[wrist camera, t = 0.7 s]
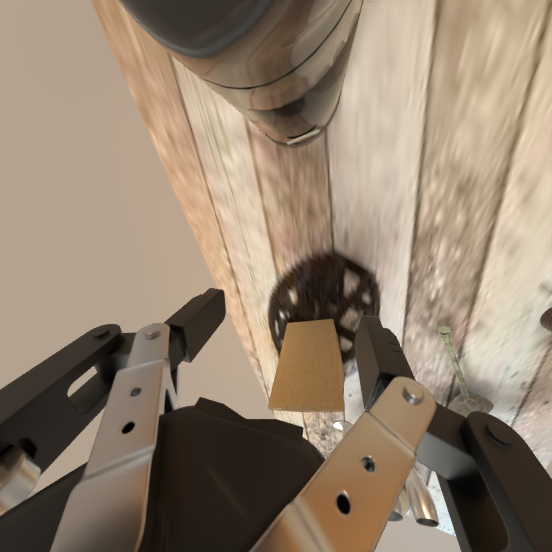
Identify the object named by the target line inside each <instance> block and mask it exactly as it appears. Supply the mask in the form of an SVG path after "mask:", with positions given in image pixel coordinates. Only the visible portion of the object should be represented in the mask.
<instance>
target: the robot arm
mask: <svg viewBox="0 0 552 552" xmlns="http://www.w3.org/2000/svg"><path fill="white" fill-rule="evenodd" d="M118 1H119V2H120V3H121V5H122V6H123V7H124V8H125V10H126V11H127V12H128V13H129V14H130V15H131V16H132V18H133V19H134V20H135V21H136V22H137V23H138V24H139V25H140V26H141V27H142V29H143V30H145V31H146V32H147V33H148V34H149V35H150V36H151V37H152V38H153V39H154V40H155V41H156V42H157V43H158V44H159V45H161V46H162V47H163V48H164V49H165V50H166V51H168V52H169V53H170V54H171V55H172V56H174V57H175V58H176V59H177V60H178V61H180V62H181V63H182V64H183V65H184V66H185V67H186V68H188V69H189V70H190V71H191V72H192V73H194V74H195V75H196V76H197V77H198V78H199V79H201V80H202V81H203V82H204V83H205V84H207V85H208V86H209V87H210V88H211V89H213V90H214V91H215V92H216V93H218V94H219V95H220V96H221V97H222V98H224V99H225V100H226V101H227V102H228V103H230V104H231V105H232V106H233V107H234V108H236V109H237V110H238V111H239V112H240V113H241V114H243V115H244V116H245V117H246V118H247V119H249V120H250V121H251V122H252V123H253V124H255V125H256V126H257V127H258V128H259V129H261V130H262V131H263V132H264V133H265V134H266V136H267V137H269V138H270V139H271V140H272V141H274V142H275V143H277V144H279V145H281V146H284V147H291V148H294V147H301V146H304V145H307V144H309V143H311V142H312V141H314V140H315V139H317V138H318V137H319V136H320V135H321V134H322V133H323V132H324V131H325V130H326V128H327V127H328V125H329V124H330V122H331V121H332V119H333V117H334V115H335V112H336V109H337V106H338V103H339V98H340V93H341V88H342V84H343V80H344V76H345V72H346V68H347V64H348V60H349V56H350V52H351V48H352V44H353V40H354V36H355V32H356V28H357V24H358V20H359V16H360V12H361V8H362V4H363V0H118ZM225 313H226V309H225V296H224V291H223V290H220V289H214V288H210V289H208V290H207V291H206V292H205V293H204V294H203V295H202V294H201V295H199V296H197V297H194V298H193V299H191V300H190V301H189V302H188V303H187V304H186V305H184V306H183V307H182V309H180V310H178V311H177V312H176V313H175V314H174V315H172V316H171V317H170V318H169V319H168V320H167V321H165V322H164V323H154V324H151V325H148V326H146V327H144V328H142V329H141V330H139V331H138V332H137V333H122V331H121V328H120V326H118V325H116V324H107V325H102V326H99V327H97V328H94V329H92V330H90V331H89V332H87V333H86V334H84V335H83V336H81V337H79V338H78V339H77V340H75V341H73V342H72V343H70V344H69V345H68V346H66V347H64V348H63V349H61V350H60V351H58V352H57V353H55V354H54V355H52V356H51V357H49V358H48V359H46V360H45V361H43V362H42V363H40V364H39V365H37V366H35V367H34V368H32V369H31V370H29V371H28V372H26V373H25V374H23V375H22V376H20V377H19V378H17V379H16V380H14V381H13V382H11V383H10V384H8V385H7V386H5V387H4V388H2V389H1V390H0V552H374V551H375V549H376V546H377V544H378V542H379V539H380V538H381V535H382V533H383V531H384V529H385V527H386V524H387V522H388V520H389V518H390V516H391V513H392V511H393V509H394V507H395V505H396V502H397V500H398V498H399V496H400V494H401V491H402V489H403V487H404V485H405V483H406V480H407V478H408V476H409V474H410V472H411V469H412V467H413V465H414V463H415V460H416V461H418V462H420V463H421V464H423V465H425V466H426V467H428V468H429V469H431V470H433V471H434V472H436V475H437V478H438V481H439V484H440V487H441V490H442V493H443V496H444V499H445V502H446V505H447V509H448V512H449V515H450V518H451V521H452V524H453V527H454V530H455V533H456V536H457V540H458V542H459V546H460V549H461V552H552V479H551V478H550V476H549V475H548V473H547V472H546V470H545V469H544V468H543V466H542V465H541V463H540V462H539V460H538V459H537V458H536V456H535V455H534V453H533V452H532V451H531V449H530V448H529V446H528V445H527V444H526V442H525V441H524V440H523V439H522V437H521V436H520V435H519V434H518V433H517V432H516V431H514V430H513V429H512V428H511V427H510V426H508V425H507V424H506V423H504V422H503V421H501V420H500V419H498V418H496V417H494V416H492V415H490V414H487V413H485V412H480V411H472V412H470V413H469V414H468V416H467V417H465V416H463V415H461V414H459V413H456V412H454V411H452V410H450V409H448V408H446V407H444V406H442V405H440V404H438V403H437V402H436V401H435V399H434V397H433V395H432V394H431V393H430V392H429V390H428V389H427V388H425V387H424V386H423V385H422V384H420V383H419V382H417V381H416V380H415V378H414V375H413V373H412V371H411V369H410V366H409V364H408V362H407V360H406V357H405V355H404V354H403V351H402V348H401V347H400V344H399V341H398V339H397V337H396V336H395V335H394V334H393V333H392V332H391V331H390V330H389V329H387V328H383V327H382V324H381V321H380V319H379V317H374V316H369V315H362V317H361V320H360V324H359V327H358V330H357V334H356V337H355V353H356V359H357V366H358V372H359V378H360V385H361V391H362V397H363V404H364V409H367V410H369V411H367V410H366V411H364V412H363V414H362V415H361V416H360V417H359V419H358V420H357V421H356V422H355V424H354V425H353V426H352V427H351V429H350V430H349V431H348V432H347V434H346V435H345V436H344V437H343V439H342V440H341V441H340V443H339V444H338V445H337V446H336V448H335V449H334V450H333V451H332V453H331V454H330V455H329V456H328V458H327V459H325V458H324V456H323V455H322V454H321V453H320V451H319V450H318V449H317V448H316V447H315V446H314V445H313V444H311V443H310V442H309V441H308V440H306V439H305V438H303V437H302V436H303V427H300V426H297V425H294V424H290V423H287V422H283V421H280V420H277V419H246V418H244V417H242V416H241V415H239V414H238V413H236V412H235V411H233V410H232V409H230V408H229V407H227V406H226V405H224V404H222V403H219V402H215V401H212V400H209V399H205V398H202V397H200V398H199V400H198V401H197V403H196V404H195V406H186V407H182V408H180V405H179V364H180V363H181V362H182V361H185V362H189V363H191V362H192V360H193V359H194V358H195V357H196V355H197V354H198V353H199V351H200V350H201V349H202V347H203V346H204V345H205V343H206V342H207V341H208V340H209V338H210V337H211V336H212V334H213V333H214V332H215V331H216V329H217V328H218V327H219V325H220V324H221V323H222V321H223V320H224V318H225ZM92 366H94V367H95V369H96V371H97V373H96V374H95V375H94V376H93V377H92V378H91V379H89V380H88V381H87V382H86V383H85V384H84V385H83V386H81V387H80V388H79V389H78V390H77V391H76V392H75V393H73V394H72V395H71V396H70V397H68V395H67V392H68V389H69V387H70V386H71V384H72V383H73V382H74V381H76V380H77V379H78V378H79V377H80V376H82V375H83V374H84V373H85V372H86V371H88V370H89V369H90V368H91V367H92ZM105 406H106V407H105ZM104 407H105V410H104V413H103V416H102V420H101V423H100V426H99V429H98V432H97V435H96V438H95V441H94V445H93V448H92V451H91V454H90V457H89V460H88V462H86V463H85V464H83V465H81V466H80V467H78V468H77V469H75V470H73V471H72V472H70V473H68V474H67V475H65V476H63V477H62V478H60V479H59V480H57V481H55V482H54V483H52V484H51V485H49V486H47V487H46V488H44V489H43V490H41V491H39V492H37V493H36V494H34V492H33V491H32V490H33V489H34V487H35V486H36V484H37V482H38V480H39V477H40V475H41V474H42V473H43V472H44V471H45V470H46V469H47V468H48V467H49V466H50V465H51V464H52V463H53V462H54V461H55V459H56V458H57V457H58V456H59V455H60V454H61V453H62V452H63V451H64V450H65V449H66V448H67V447H68V446H69V445H70V443H71V442H72V441H73V440H74V439H75V438H76V437H77V436H78V435H79V434H80V433H81V432H82V430H84V428H85V427H86V426H87V425H88V424H89V423H90V422H91V421H92V420H93V419H94V418H95V417H96V416H97V415H98V414H99V413H100V411H101V410H102V409H103V408H104Z"/></svg>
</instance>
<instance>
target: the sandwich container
mask: <svg viewBox="0 0 552 552" xmlns="http://www.w3.org/2000/svg"><path fill="white" fill-rule="evenodd" d="M344 381H345V379H344V372H343V365H342V358H341V352H340V347H339V342H338V337H337V333H336V329H335V325H334V321H333V319H325V320H314V321H304V322H294V323H287V327H286V332H285V336H284V340H283V345H282V349H281V353H280V357H279V362H278V366H277V370H276V375H275V379H274V383H273V387H272V392H271V396H270V400H269V405H268V406H269V409H270V410H280V411H294V412H343V411H344V400H343V392H344Z"/></svg>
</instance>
